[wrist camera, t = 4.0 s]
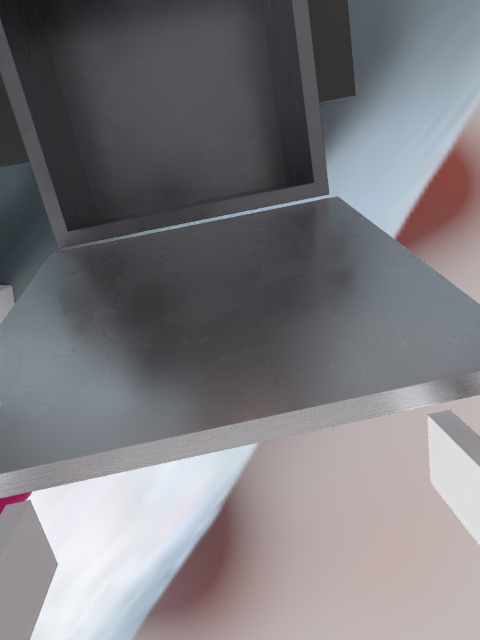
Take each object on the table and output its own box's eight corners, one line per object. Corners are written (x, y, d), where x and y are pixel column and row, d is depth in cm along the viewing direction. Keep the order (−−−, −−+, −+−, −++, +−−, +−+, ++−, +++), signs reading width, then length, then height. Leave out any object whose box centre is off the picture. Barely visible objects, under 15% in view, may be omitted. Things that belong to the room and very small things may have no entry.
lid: (-124, 500, 10) (-60, 564, 11) (548, 356, 10) (525, 435, 12) (50, 253, 23) (69, 297, 24) (337, 196, 23) (339, 242, 25)
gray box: (-13, -4, 27) (-110, -92, 19) (296, -60, 28) (339, -170, 19) (65, 238, 32) (16, 256, 24) (325, 186, 33) (369, 186, 24)
